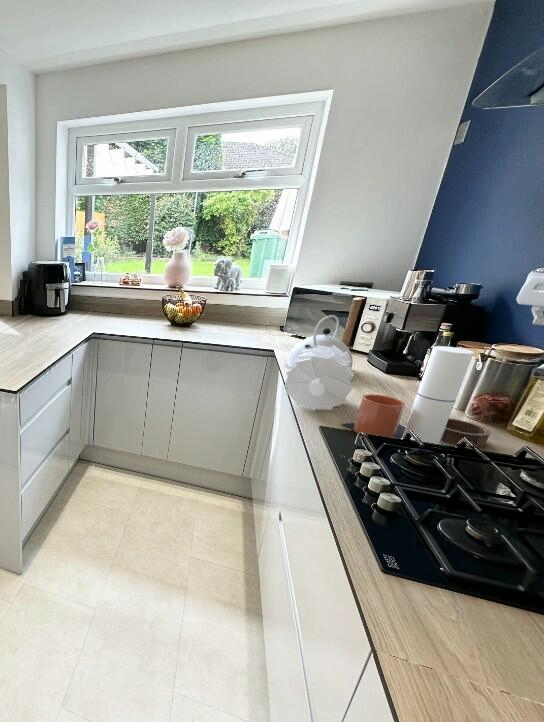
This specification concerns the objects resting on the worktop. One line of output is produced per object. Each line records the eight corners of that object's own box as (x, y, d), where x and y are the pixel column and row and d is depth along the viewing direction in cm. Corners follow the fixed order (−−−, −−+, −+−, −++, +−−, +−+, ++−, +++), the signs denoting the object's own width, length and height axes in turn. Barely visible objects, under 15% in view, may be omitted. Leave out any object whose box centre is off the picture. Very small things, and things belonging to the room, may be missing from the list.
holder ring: (497, 446, 104) (502, 434, 103) (460, 448, 103) (465, 436, 102) (450, 427, 115) (454, 416, 114) (416, 429, 114) (420, 418, 112)
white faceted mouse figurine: (291, 420, 129) (300, 394, 147) (360, 411, 117) (360, 384, 135) (274, 368, 127) (285, 349, 146) (341, 353, 115) (344, 334, 134)
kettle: (330, 380, 155) (345, 322, 147) (272, 365, 173) (283, 314, 166) (361, 370, 166) (377, 317, 159) (304, 358, 185) (315, 309, 177)
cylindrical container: (395, 435, 109) (425, 347, 101) (415, 432, 111) (446, 345, 102) (425, 447, 103) (460, 354, 94) (445, 444, 104) (481, 352, 96)
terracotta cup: (402, 439, 108) (414, 405, 104) (373, 441, 107) (384, 407, 104) (372, 425, 116) (382, 393, 113) (345, 427, 115) (354, 395, 112)
